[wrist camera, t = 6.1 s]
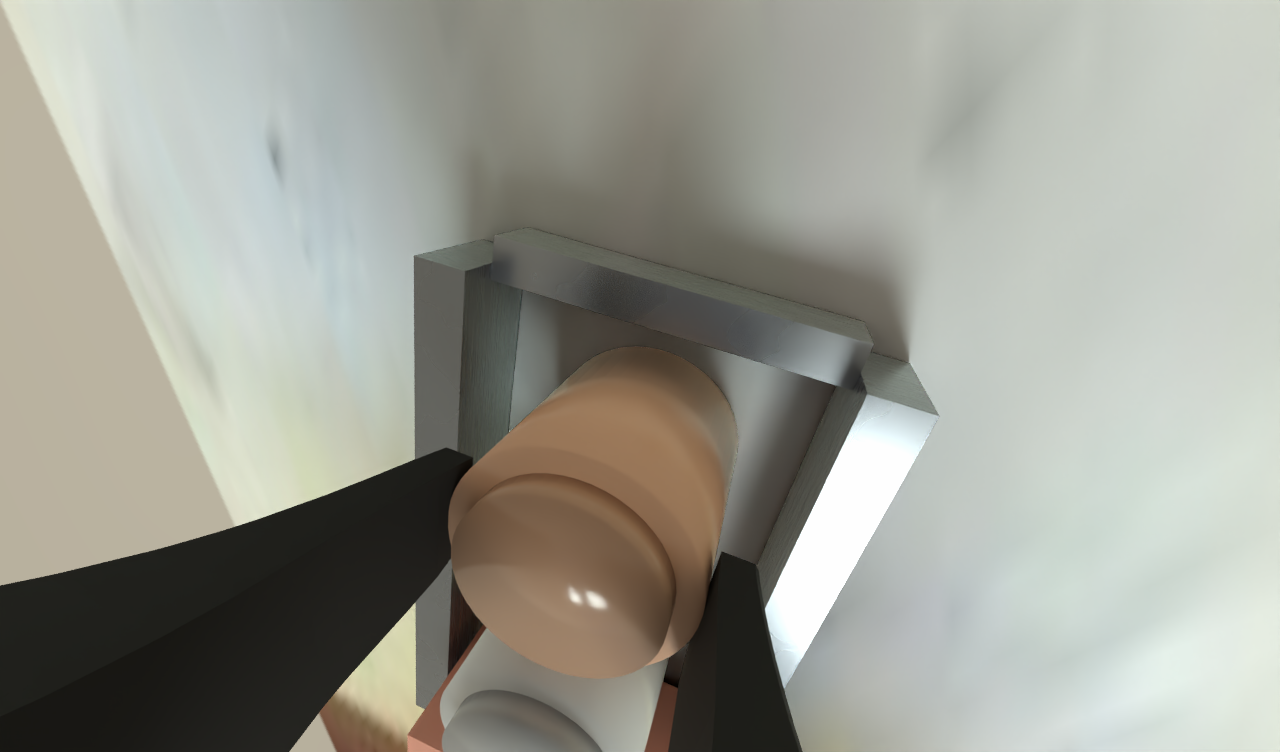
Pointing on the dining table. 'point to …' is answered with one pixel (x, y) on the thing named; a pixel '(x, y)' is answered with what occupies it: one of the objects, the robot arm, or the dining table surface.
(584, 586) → the terracotta jar
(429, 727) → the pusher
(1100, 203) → the dining table surface
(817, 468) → the grey tray
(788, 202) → the dining table surface
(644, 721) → the grey jar
